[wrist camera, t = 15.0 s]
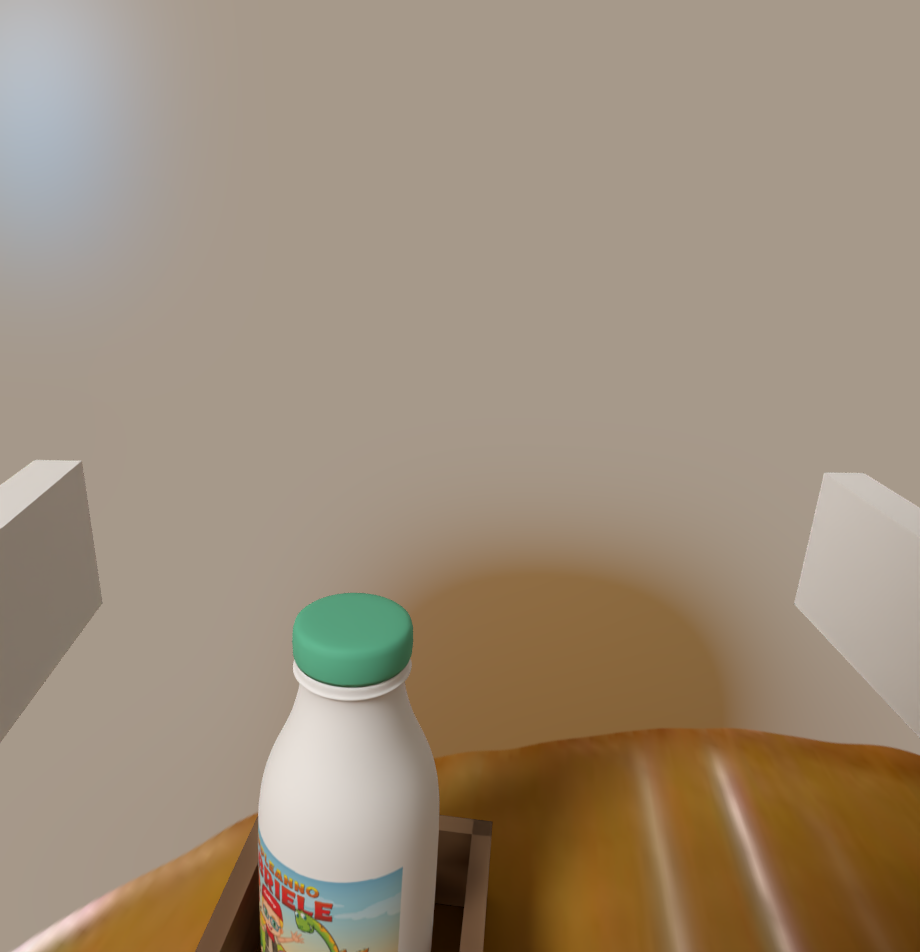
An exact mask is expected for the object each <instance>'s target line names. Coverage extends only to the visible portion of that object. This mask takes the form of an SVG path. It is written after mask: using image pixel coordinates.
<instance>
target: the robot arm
mask: <svg viewBox="0 0 920 952" xmlns="http://www.w3.org/2000/svg"><path fill="white" fill-rule="evenodd" d="M101 604H102V597H101V590H100V583H99V576H98V569H97V563H96V555H95V548H94V542H93V535H92V528H91V522H90V514H89V508H88V500H87V494H86V486H85V480H84V473H83V466H82V461H64V460H34V461H33V462H31V463H30V464H29V465H27V466H26V467H25V468H23V469H22V470H21V471H19V472H18V473H16V474H15V475H14V476H12V477H11V478H10V479H8V480H7V481H5V482H4V483H3V484H1V485H0V742H1V741H2V739H3V738H4V737H5V735H6V734H7V733H8V731H9V730H10V729H11V727H12V726H13V724H14V723H15V722H16V720H17V719H18V718H19V716H20V715H21V713H22V712H23V711H24V710H25V708H26V707H27V705H28V704H29V703H30V701H31V700H32V699H33V697H34V696H35V694H36V693H37V692H38V690H39V689H40V688H41V686H42V685H43V684H44V682H45V681H46V679H47V678H48V677H49V675H50V674H51V673H52V671H53V670H54V668H55V667H56V666H57V664H58V663H59V662H60V660H61V659H62V657H63V656H64V655H65V653H66V652H67V651H68V649H69V648H70V646H71V645H72V644H73V643H74V641H75V640H76V638H77V637H78V636H79V634H80V633H81V632H82V630H83V629H84V627H85V626H86V625H87V623H88V622H89V621H90V619H91V618H92V616H93V615H94V613H95V612H96V611H97V610H98V608H99V607H100V606H101ZM794 604H795V606H796V607H797V608H798V609H799V610H800V611H801V612H802V613H803V614H804V615H805V616H806V617H807V618H808V619H809V620H810V622H811V623H812V624H813V625H814V626H815V627H816V628H817V629H818V630H819V631H820V632H821V633H822V634H823V635H824V636H825V638H826V639H827V640H828V641H829V642H830V643H831V644H832V645H833V646H834V647H835V648H836V649H837V650H838V651H839V652H840V654H841V655H842V656H843V657H844V658H845V659H846V660H847V661H848V662H849V663H850V664H851V665H852V666H853V667H854V668H855V669H856V671H857V672H858V673H859V674H860V675H861V676H862V677H863V678H864V679H865V680H866V681H867V682H868V683H869V684H870V685H871V687H872V688H873V689H874V690H875V691H876V692H877V693H878V694H879V695H880V696H881V697H882V698H883V699H884V700H885V702H886V703H887V704H888V705H889V706H890V707H891V708H892V709H893V710H894V711H895V712H896V713H897V714H898V715H899V716H900V718H901V719H902V720H903V721H904V722H905V723H906V724H907V725H908V726H909V727H910V728H911V729H912V730H913V731H914V732H915V734H916V735H918V737H919V738H920V508H919V507H918V506H916V505H915V504H913V503H911V502H910V501H908V500H906V499H905V498H903V497H902V496H900V495H898V494H897V493H895V492H894V491H892V490H890V489H889V488H887V487H885V486H884V485H882V484H881V483H879V482H877V481H876V480H874V479H872V478H871V477H869V476H868V475H866V474H864V473H824V476H823V480H822V484H821V489H820V493H819V498H818V502H817V507H816V511H815V515H814V519H813V524H812V528H811V532H810V537H809V542H808V546H807V550H806V554H805V559H804V563H803V567H802V572H801V576H800V581H799V585H798V590H797V594H796V598H795V603H794Z"/></svg>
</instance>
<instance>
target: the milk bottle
mask: <svg viewBox="0 0 920 952" xmlns="http://www.w3.org/2000/svg"><path fill="white" fill-rule="evenodd" d="M292 642H293V655H294V659H295V660H294V663H293V671H294V675H295V677H296V679H297V681H298V682H299V683H300V684H299V690H298V693H297V697H296V700H295V703H294V706H293V709H292V711H291V713H290V715H289V717H288V719H287V721H286V723H285V725H284V727H283V729H282V731H281V732H280V734H279V736H278V738H277V740H276V742H275V744H274V746H273V748H272V751H271V753H270V755H269V758H268V761H267V764H266V767H265V771H264V775H263V779H262V784H261V791H260V799H259V812H258V865H259V905H260V934H261V952H431V945H432V931H433V916H434V902H435V887H436V871H437V854H438V836H439V788H438V778H437V772H436V767H435V762H434V759H433V755H432V752H431V749H430V746H429V744H428V742H427V740H426V737H425V735H424V733H423V731H422V729H421V727H420V725H419V723H418V721H417V719H416V717H415V715H414V713H413V711H412V708H411V705H410V702H409V699H408V696H407V692H406V687H405V680H406V679H407V678H408V676H409V674H410V671H411V667H412V666H411V665H412V663H411V659H410V657H411V654H412V646H413V625H412V621H411V618H410V616H409V614H408V612H407V611H406V610H405V609H404V608H403V607H402V606H400V605H399V604H397V603H396V602H394V601H392V600H389V599H387V598H384V597H381V596H377V595H372V594H365V593H344V594H337V595H332V596H328V597H325V598H322V599H319V600H317V601H315V602H313V603H311V604H309V605H308V606H306V607H305V608H304V609H303V610H301V612H300V613H299V614H298V616H297V618H296V620H295V623H294V626H293V641H292Z"/></svg>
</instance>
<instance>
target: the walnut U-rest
mask: <svg viewBox="0 0 920 952" xmlns="http://www.w3.org/2000/svg"><path fill="white" fill-rule="evenodd" d="M491 836H492V821H484V820H475V819H467V818H459V817H451V816H443V815H439V836H438V854H437V871H436V887H435V902H434V903H438V904H446V905H453V906H461V907H464V914H463V923H462V933H461V942H460V952H483V944H484V930H485V917H486V903H487V890H488V876H489V863H490V849H491ZM260 940H261V934H260V905H259V865H258V817H257V819H256V821H255V823H254V825H253V828H252V830H251V832H250V834H249V836H248V838H247V841H246V843H245V845H244V847H243V849H242V851H241V854H240V856H239V858H238V860H237V862H236V864H235V867H234V869H233V871H232V873H231V875H230V877H229V880H228V882H227V884H226V886H225V888H224V890H223V893H222V895H221V897H220V899H219V901H218V903H217V906H216V908H215V910H214V912H213V914H212V916H211V919H210V921H209V923H208V925H207V927H206V929H205V932H204V934H203V936H202V938H201V940H200V942H199V945H198V947H197V949H196V951H195V952H256V951H257V948H258V945H259V943H260Z"/></svg>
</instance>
